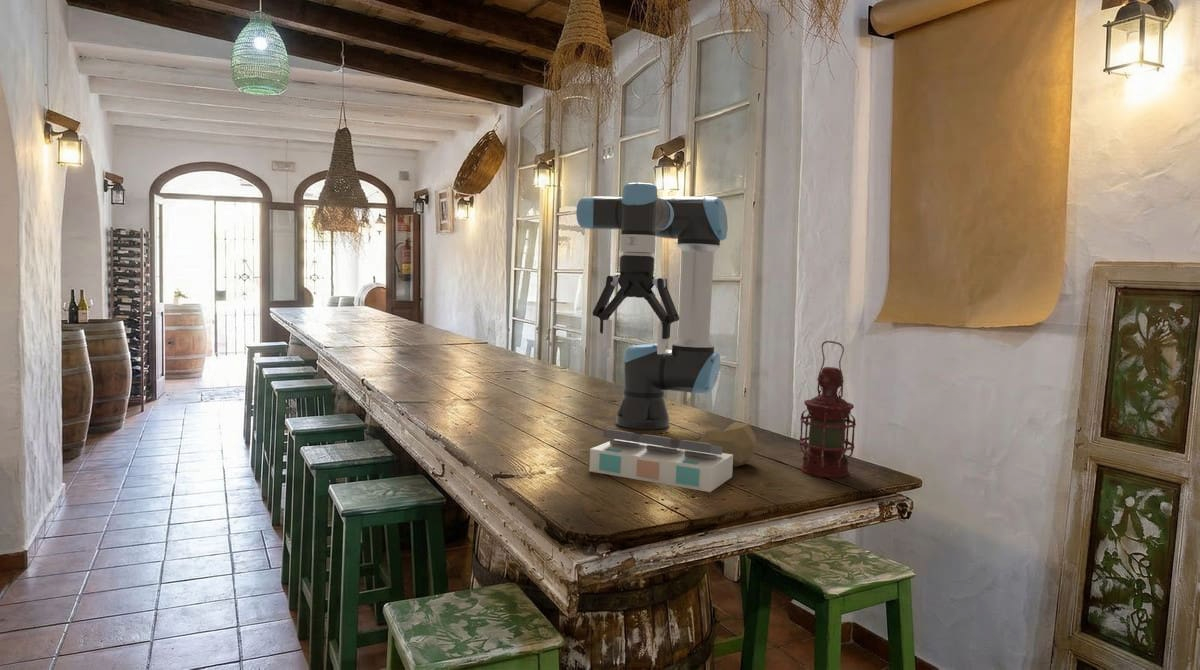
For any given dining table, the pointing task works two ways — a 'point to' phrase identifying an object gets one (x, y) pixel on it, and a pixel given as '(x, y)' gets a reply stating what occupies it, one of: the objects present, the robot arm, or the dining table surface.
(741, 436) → the low-poly potato
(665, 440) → the rocker middle
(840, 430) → the lantern
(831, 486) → the dining table surface
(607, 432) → the rocker
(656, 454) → the console
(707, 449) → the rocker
